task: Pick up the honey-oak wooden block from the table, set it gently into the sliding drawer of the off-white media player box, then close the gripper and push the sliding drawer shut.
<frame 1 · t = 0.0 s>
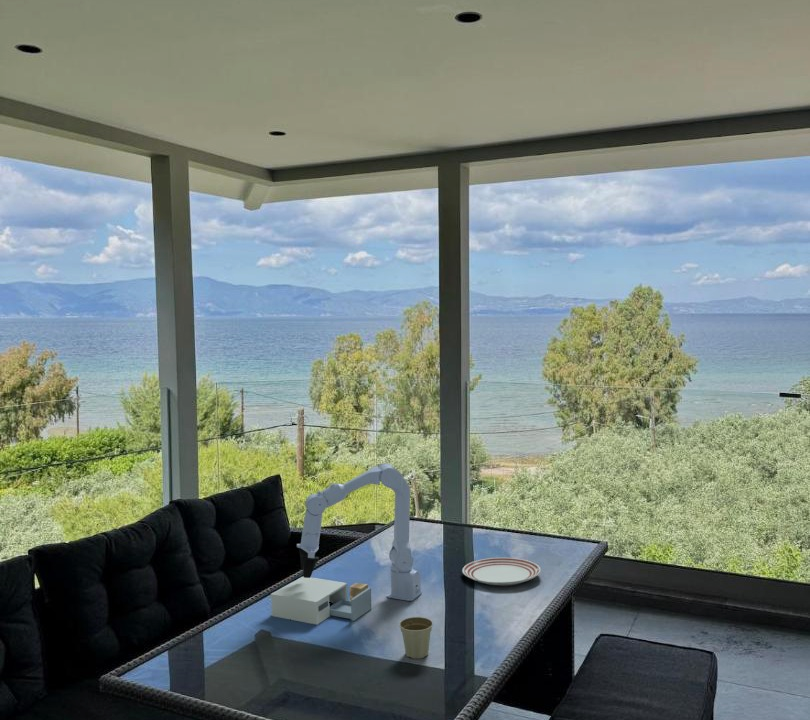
hand: (305, 573, 249), 11 cm above the table, fingers open, 7 cm apart
flower pot: (416, 655, 212), on the table
sliding drawer: (348, 601, 242), point 4 cm above the table, slide at 8.0 cm
dinner plate: (501, 578, 272), on the table
player box: (324, 608, 246), on the table
oak block: (359, 600, 253), on the table
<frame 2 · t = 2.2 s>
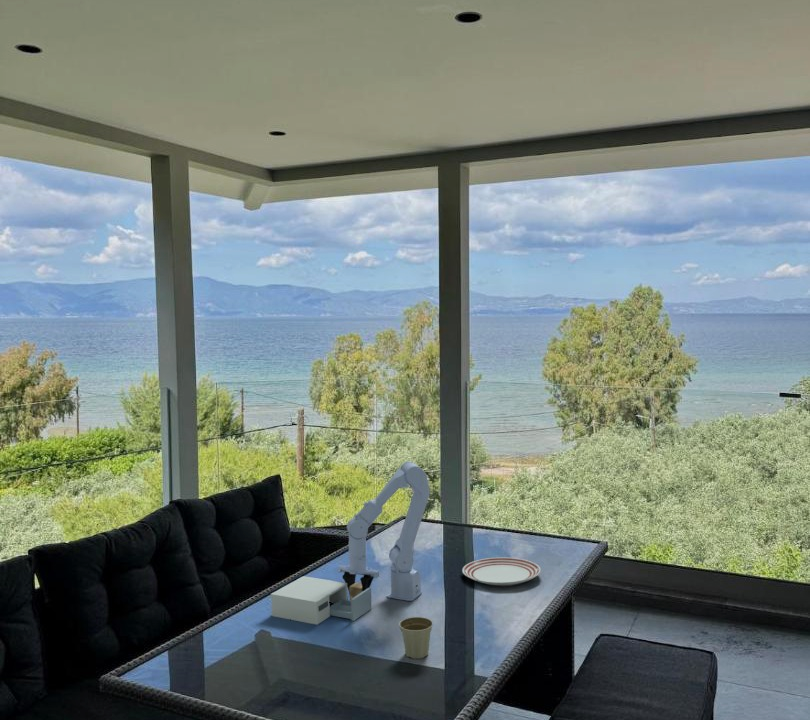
hand: (358, 596, 253), 1 cm above the table, fingers closed on oak block, 4 cm apart
oak block: (359, 600, 253), on the table, touching gripper
everything else where it was.
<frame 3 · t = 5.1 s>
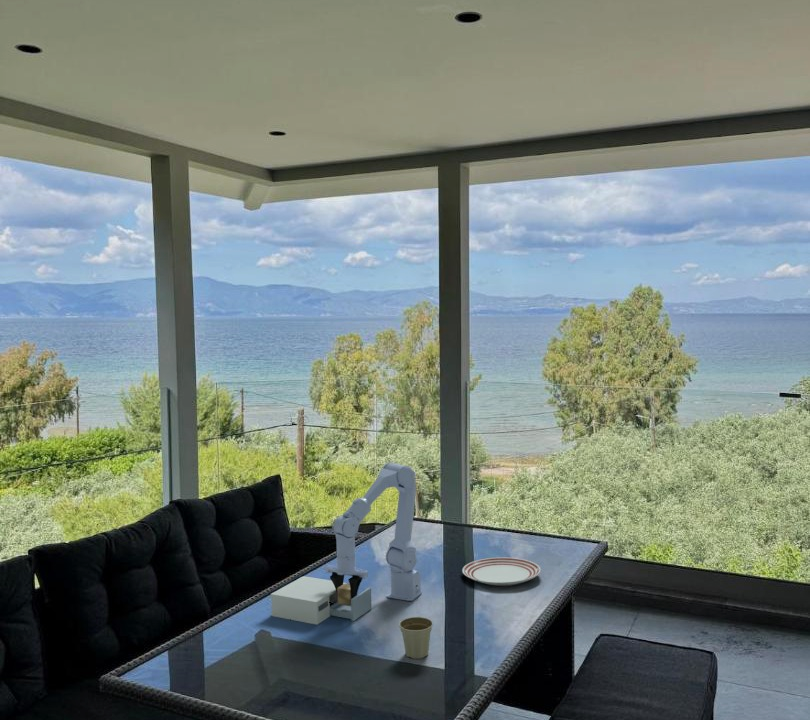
hand: (347, 597, 242), 5 cm above the table, fingers closed on oak block, 4 cm apart
oak block: (347, 602, 242), point 3 cm above the table, touching gripper
everything else where it was.
when the fingers open (4 cm above the table, at t = 6.6 s): oak block drops 2 cm, resting on sliding drawer.
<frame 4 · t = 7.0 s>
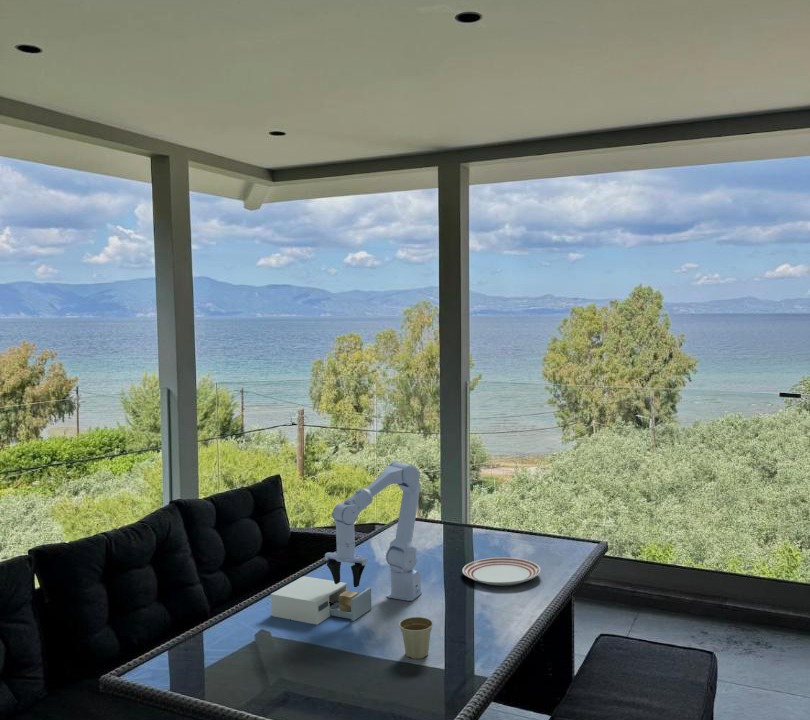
hand: (346, 584, 242), 9 cm above the table, fingers open, 6 cm apart
sliding drawer: (348, 601, 242), point 4 cm above the table, slide at 8.0 cm, touching oak block
oak block: (349, 609, 243), point 1 cm above the table, touching sliding drawer
everything else where it was.
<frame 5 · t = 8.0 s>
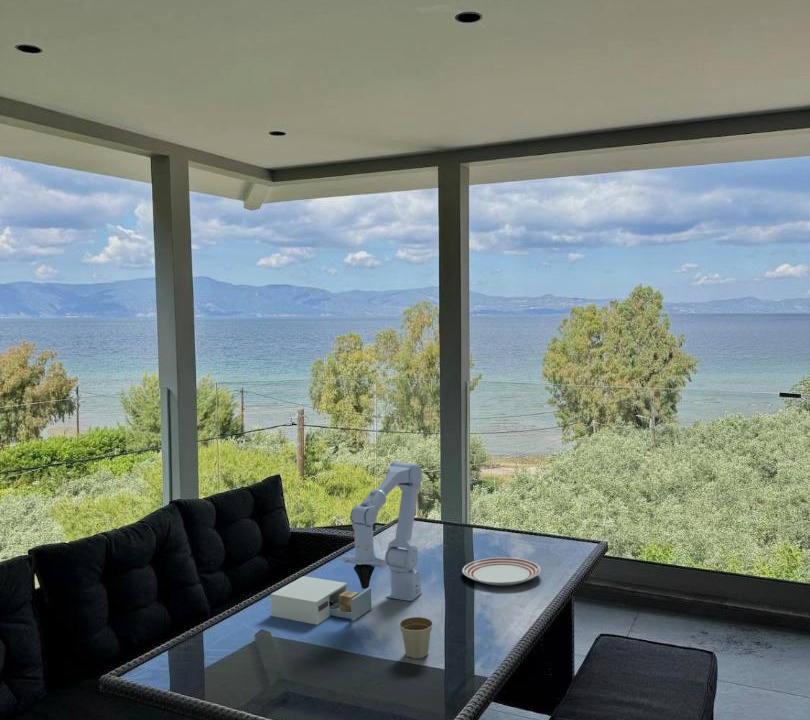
hand: (365, 587, 239), 9 cm above the table, fingers closed
nothing on the table moved.
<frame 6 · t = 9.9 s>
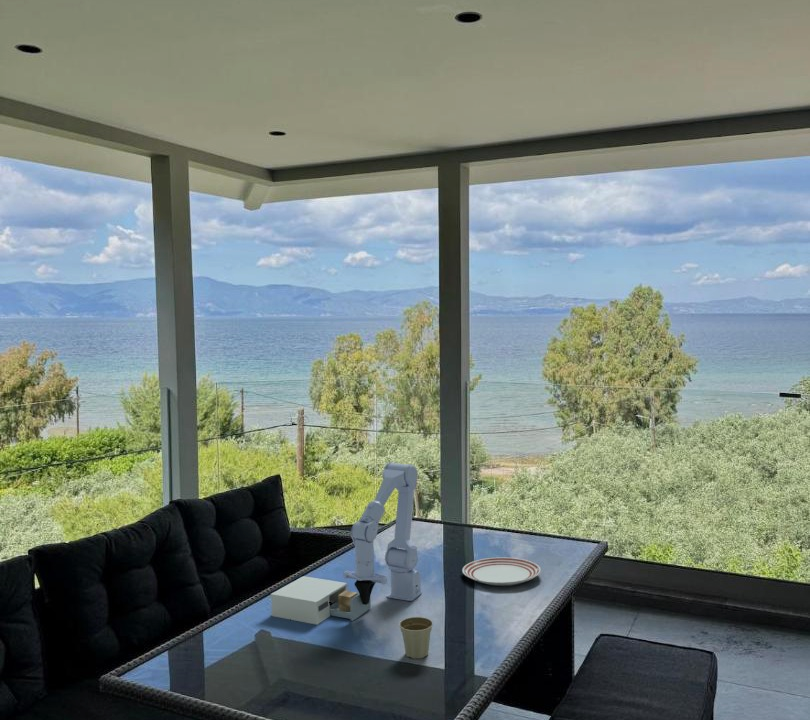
hand: (365, 603, 239), 4 cm above the table, fingers closed
sliding drawer: (347, 601, 242), point 4 cm above the table, slide at 7.7 cm, touching gripper, oak block
everything else where it was.
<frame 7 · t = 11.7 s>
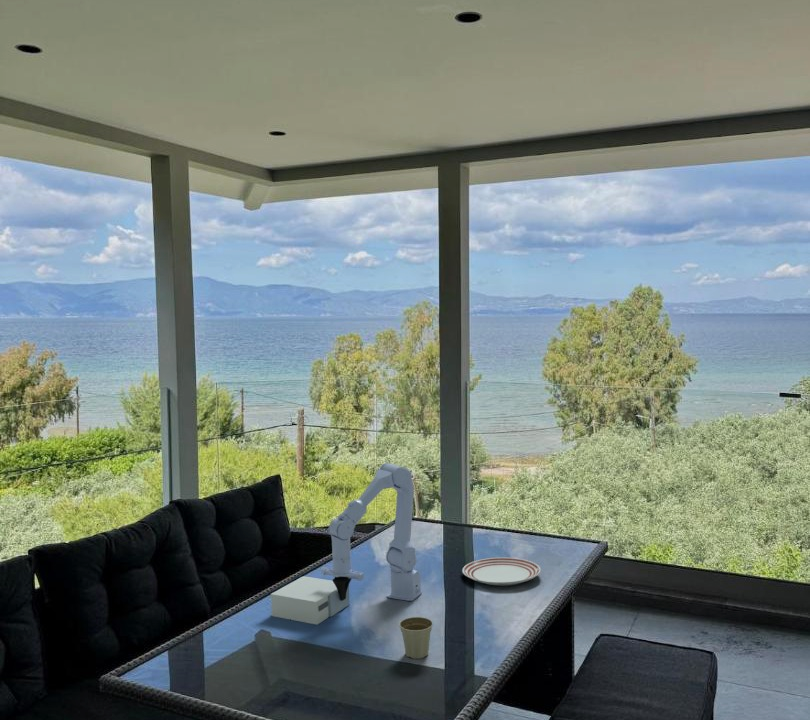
hand: (342, 599, 243), 4 cm above the table, fingers closed
sliding drawer: (326, 597, 246), point 4 cm above the table, slide at -0.1 cm, touching gripper, oak block
oak block: (327, 605, 247), point 1 cm above the table, touching sliding drawer
everything else where it was.
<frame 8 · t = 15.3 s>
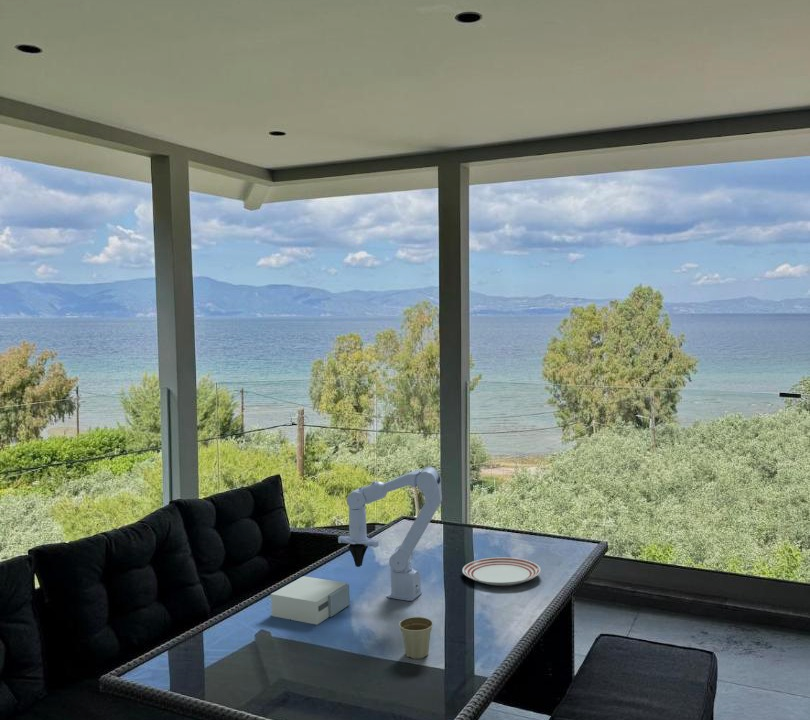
hand: (358, 565, 259), 9 cm above the table, fingers closed
sliding drawer: (326, 597, 246), point 4 cm above the table, slide at 0.0 cm, touching oak block
everything else where it was.
at the end: sliding drawer slide at 0.0 cm; oak block inside the target area on the player box (0.6 cm from its centre), point 0.8 cm above the player box's base; oak block tilted 0° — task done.
